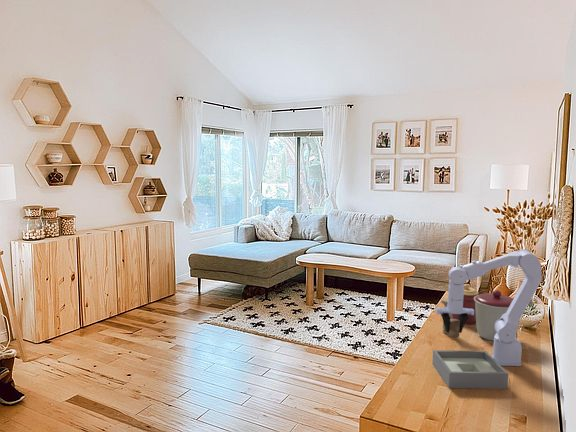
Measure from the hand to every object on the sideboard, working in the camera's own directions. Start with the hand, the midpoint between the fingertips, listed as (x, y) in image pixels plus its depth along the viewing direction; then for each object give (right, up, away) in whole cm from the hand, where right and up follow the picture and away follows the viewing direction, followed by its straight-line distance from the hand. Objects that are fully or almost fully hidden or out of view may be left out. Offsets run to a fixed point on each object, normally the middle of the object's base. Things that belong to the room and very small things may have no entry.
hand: (453, 331), depth 183 cm
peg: (0, -1, 0) cm, 1 cm away
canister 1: (+20, -5, +41) cm, 46 cm away
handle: (+6, -7, +25) cm, 26 cm away
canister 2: (+25, -8, +21) cm, 33 cm away
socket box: (0, -12, -15) cm, 19 cm away
